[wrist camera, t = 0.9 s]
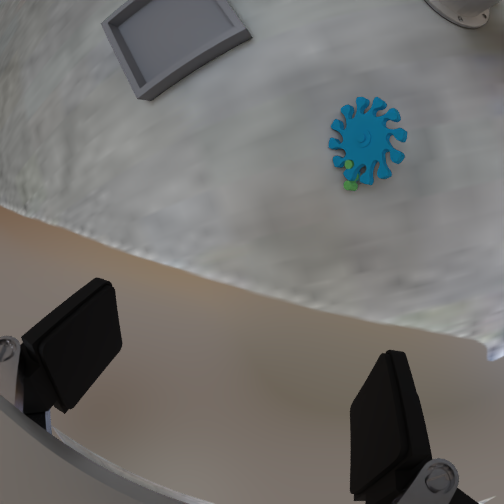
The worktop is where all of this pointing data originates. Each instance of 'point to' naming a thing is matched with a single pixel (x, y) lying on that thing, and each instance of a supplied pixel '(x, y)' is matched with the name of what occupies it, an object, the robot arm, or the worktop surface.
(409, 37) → the worktop surface
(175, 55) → the tray
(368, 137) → the gear
